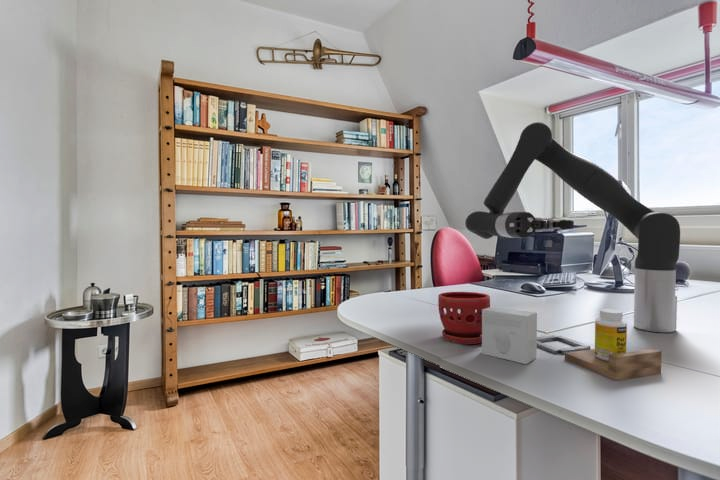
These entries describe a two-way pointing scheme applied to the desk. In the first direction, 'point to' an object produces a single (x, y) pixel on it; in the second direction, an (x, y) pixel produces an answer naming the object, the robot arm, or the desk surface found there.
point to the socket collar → (563, 350)
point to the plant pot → (462, 316)
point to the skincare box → (509, 334)
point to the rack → (619, 363)
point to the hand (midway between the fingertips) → (559, 224)
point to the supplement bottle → (610, 334)
